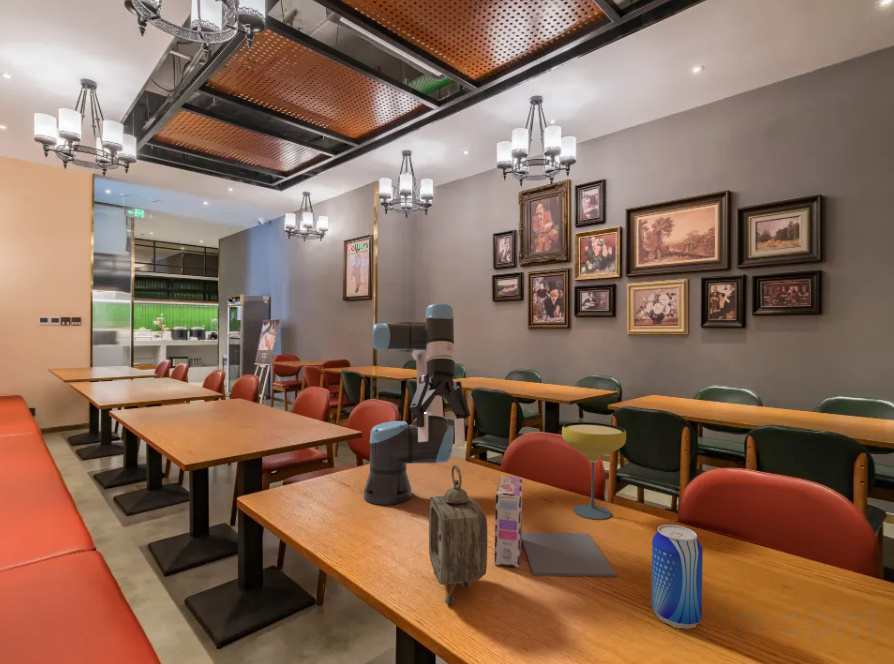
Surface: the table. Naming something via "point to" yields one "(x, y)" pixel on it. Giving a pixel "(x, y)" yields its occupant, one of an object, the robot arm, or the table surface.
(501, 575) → the table surface
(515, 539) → the candy box
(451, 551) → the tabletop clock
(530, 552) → the mat
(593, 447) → the cocktail glass
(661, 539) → the beer can
